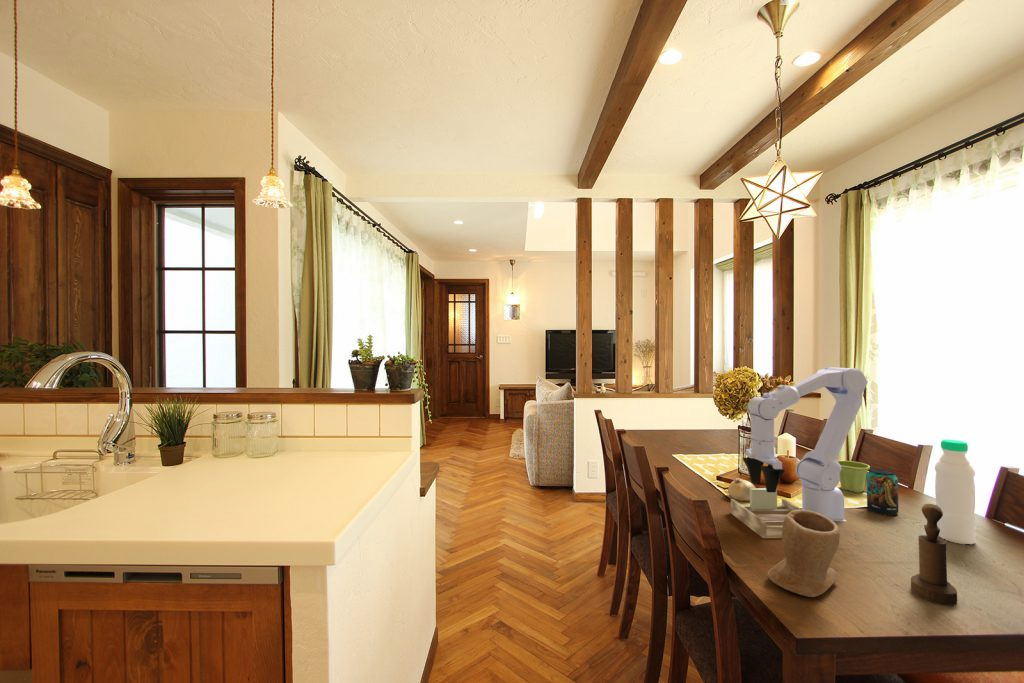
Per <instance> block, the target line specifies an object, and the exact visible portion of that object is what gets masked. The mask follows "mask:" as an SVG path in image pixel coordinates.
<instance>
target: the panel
mask: <svg viewBox="0 0 1024 683" xmlns="http://www.w3.org/2000/svg"><path fill="white" fill-rule="evenodd" d="M749 506H750V510H777V506H778V488H777V489H776V492H767V490H766V487H758V488H757V487H755V488H750V501H749Z"/></svg>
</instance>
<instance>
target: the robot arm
mask: <svg viewBox="0 0 1024 683" xmlns="http://www.w3.org/2000/svg"><path fill="white" fill-rule="evenodd" d="M867 385H868V380H867V378H866V376H865V374H864V372H863V371H862V370H861V369H859V368H857V367H850V368H848V367H834V366H826V367H823V369H818V370H817V371H816V373H813V374H812V375H810V376H809V377H806V378H805V379H803V380H802V381H800V382H797V383H796V384H794V385H792V386H790V385H787V384H786V385H783V384H780V385H778V386H777V388H776V389H774V390H772V391H769V392H764V393H763V395H762V396H755V397H752V398H750V400H749V401H748V403H747V405H746V406H745V409H746V412H747V413H748V414H749V419H750V434H751V435H750V441H751V442H750V444H751V446H750V447H751V448H745V456H746V457H742V461H743V462H744V464H745V466H746V468H747V470H748V475H749V477H750V478H749V479H750V483H752V484H760V483H761V478H762V474H763V477H764V483H765V484H764V485H765V488H766V490H767V492H776V489H777V490H778V485H779V481H780V479H781V477H782V475H784V473H785V471H786V470H785V467H783V462H782V461H780V460H779V459H778V458H777V457H776V456H775V419H776V418H777V417H778V416H779V413H780V412H782V411H783V410H786V409H787V408H790V407H792V406H794V405H796V404H799V401H800V398H801V397H803V396H805V395H808V394H810V393H813V392H815V391H817V390H820V389H822V388H825V389H826V390H827V391H828V392H829V394H831V396H832V397H833V398H834V399H835V404H834V406H833V407H832V411H831V413H830V415H829V416H828V418H827V421H826V424H825V425H824V428H823V430H822V432H821V434H820V436H819V439H818V441H817V443H816V445H815V447H814V449H812V450H810V451H808V452H806V453H805V454H804V456H803V457H802V458H801V459H800V460H799V461H798V462H797V463H796V465H795V473H796V476H797V477H798V478H799V479H800V483H801V500H802V502H801V504H802V505H801V509H803V510H809V511H813V512H817V513H820V514H822V515H824V516H826V517H828V518H829V519H831V520H832V521H833V522H847V520H846V519H845V496H844V494H843V492H842V490H841V489H840V488H838V487H837V486H838V485H840V484H839V483H840V471H841V469H842V468H841V466H840V464H839V463H838V461H839V460H838V456H839V454H840V452H841V449H842V447H843V445H844V443H845V441H846V439H847V437H848V435H849V432H850V430H851V429H852V426H853V423H854V421H855V420H856V418H857V415H858V413H859V411H860V409H861V406H862V404H863V397H864V396H863V394H864V391H865V390H866V387H867ZM764 464H766V465H764Z"/></svg>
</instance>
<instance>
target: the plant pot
mask: <svg viewBox="0 0 1024 683" xmlns="http://www.w3.org/2000/svg"><path fill="white" fill-rule="evenodd" d="M837 461H838V463H839V464H840V466H841V468H842V469H841V471H840V481H839V483H840V484H839V485H840V488H841V489H842V490H844V489H845V490H844V491H850V492H852V491H853V492H852V493H862V492H864V491H865V487H866V482H867V474H868V473H869V469H871V468H870V467H871V466H870V465H869V464H867V463H863V462H858V461H851V460H837Z"/></svg>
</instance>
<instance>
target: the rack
mask: <svg viewBox="0 0 1024 683" xmlns="http://www.w3.org/2000/svg"><path fill="white" fill-rule="evenodd" d="M793 510H803V509H802V507H799V506H797V505H795V504H794V503H792V502H791V501H788V500H787V499H785V498H781V505H777V510H750V505H742V504H741V503H739V501H738V500H736V499H733V498H730V514H731V515H732V516H734V517H735V518H736V519H738V520H739V521H740V522H742V524H744V525H745V526H747V527H748V528H749V529H750V530H751V531H753V532H754V533H755V534H757V535H758V536H760V537H761V539H782V527H783V522H784V521H763V520H762V519H761V518H759V517H758V516H756V515H755V514H785V515H787V514H788V513H789V512H791V511H793Z"/></svg>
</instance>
